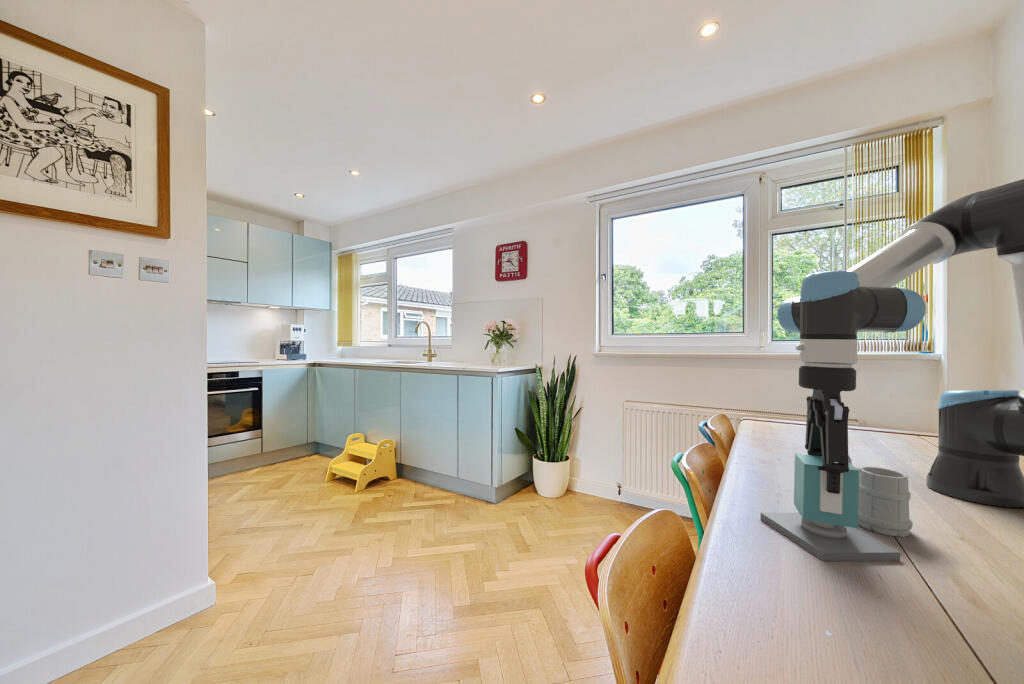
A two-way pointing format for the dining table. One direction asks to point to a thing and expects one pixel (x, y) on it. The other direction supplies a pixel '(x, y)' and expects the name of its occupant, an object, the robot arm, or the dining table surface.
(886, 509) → the mug
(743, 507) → the dining table surface
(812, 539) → the post board
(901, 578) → the dining table surface
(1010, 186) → the robot arm
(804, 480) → the teal block
